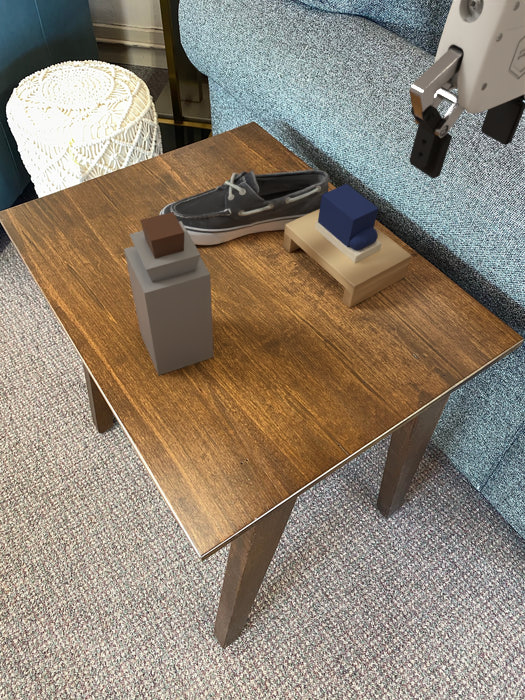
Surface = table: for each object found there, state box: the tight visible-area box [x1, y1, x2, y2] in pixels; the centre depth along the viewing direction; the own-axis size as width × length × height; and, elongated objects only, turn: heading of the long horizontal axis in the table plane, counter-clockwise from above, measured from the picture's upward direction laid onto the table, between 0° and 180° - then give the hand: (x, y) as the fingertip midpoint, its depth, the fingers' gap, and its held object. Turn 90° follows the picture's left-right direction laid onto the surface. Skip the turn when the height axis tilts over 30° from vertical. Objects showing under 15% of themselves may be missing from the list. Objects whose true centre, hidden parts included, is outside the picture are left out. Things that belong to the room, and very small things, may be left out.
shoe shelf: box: [282, 209, 412, 309], centre depth 76 cm, size 14×10×4 cm
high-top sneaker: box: [315, 183, 382, 263], centre depth 72 cm, size 8×4×6 cm, turn 36°
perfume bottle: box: [123, 212, 214, 376], centre depth 60 cm, size 7×7×18 cm
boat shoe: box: [159, 168, 330, 246], centre depth 79 cm, size 24×9×8 cm, turn 101°
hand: (460, 153), depth 52 cm, fingers open, 9 cm apart
